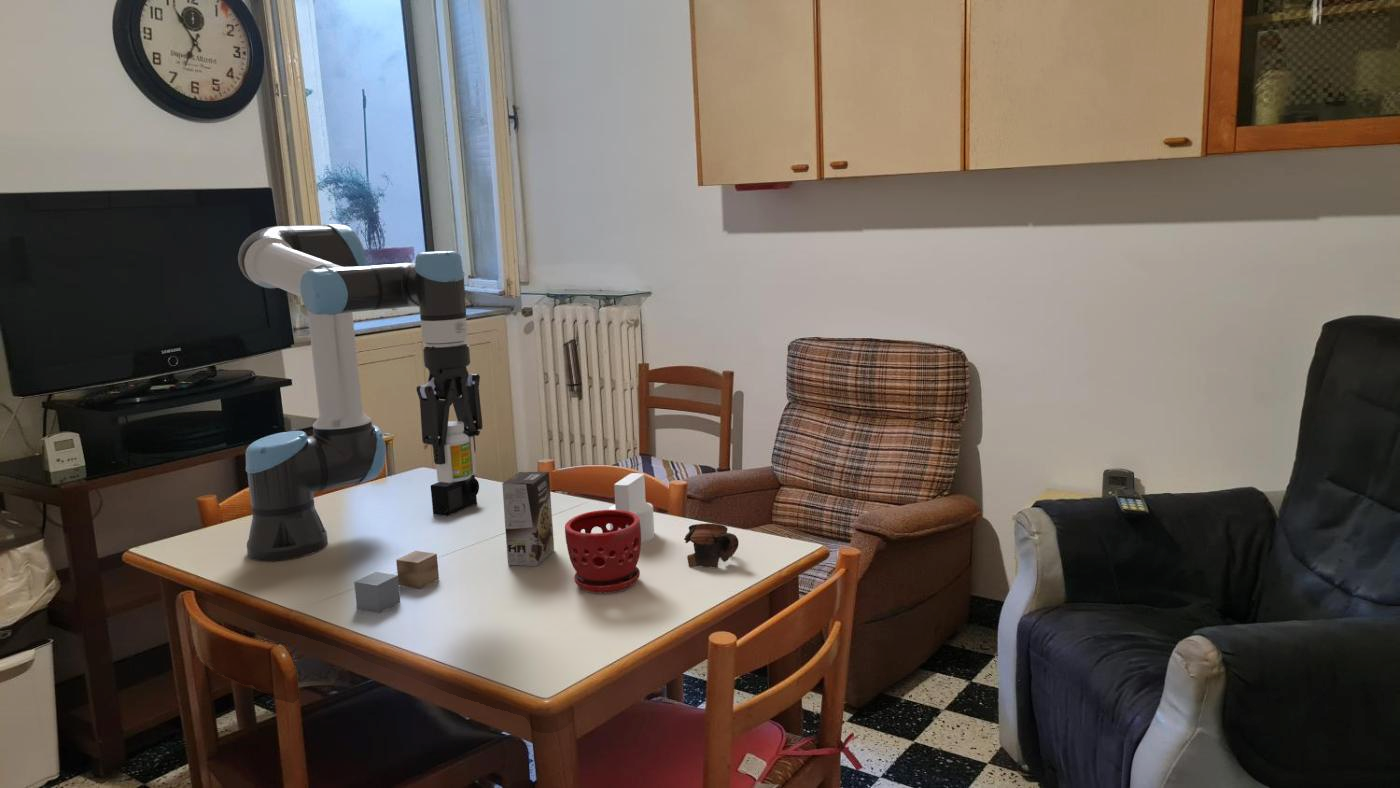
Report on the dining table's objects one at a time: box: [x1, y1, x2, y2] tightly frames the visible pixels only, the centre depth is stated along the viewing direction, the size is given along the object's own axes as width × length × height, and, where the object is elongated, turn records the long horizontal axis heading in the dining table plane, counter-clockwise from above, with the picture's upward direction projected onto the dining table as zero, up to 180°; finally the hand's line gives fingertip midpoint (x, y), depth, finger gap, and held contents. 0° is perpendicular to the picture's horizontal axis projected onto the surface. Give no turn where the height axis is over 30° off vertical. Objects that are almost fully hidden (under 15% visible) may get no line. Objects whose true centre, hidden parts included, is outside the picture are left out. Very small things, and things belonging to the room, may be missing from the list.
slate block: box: [353, 571, 401, 614], centre depth 164 cm, size 5×5×5 cm
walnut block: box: [395, 550, 440, 590], centre depth 174 cm, size 5×5×5 cm
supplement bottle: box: [446, 420, 473, 482], centre depth 165 cm, size 5×5×10 cm
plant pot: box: [564, 509, 642, 594], centre depth 169 cm, size 13×13×12 cm
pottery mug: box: [683, 523, 739, 568], centre depth 180 cm, size 12×9×8 cm
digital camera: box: [430, 474, 480, 517], centre depth 219 cm, size 10×5×7 cm, turn 154°
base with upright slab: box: [608, 472, 655, 543], centre depth 195 cm, size 9×9×12 cm
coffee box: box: [502, 471, 555, 567], centre depth 184 cm, size 9×6×16 cm
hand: (457, 476), depth 166 cm, fingers closed on supplement bottle, 5 cm apart
